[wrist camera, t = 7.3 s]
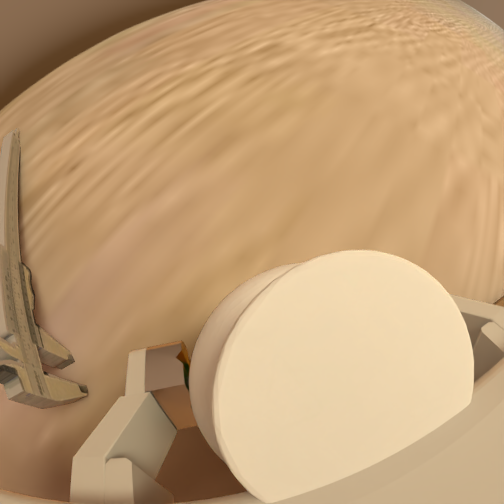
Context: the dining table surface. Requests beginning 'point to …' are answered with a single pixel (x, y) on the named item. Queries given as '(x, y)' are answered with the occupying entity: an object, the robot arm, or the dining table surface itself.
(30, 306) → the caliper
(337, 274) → the supplement bottle
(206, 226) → the dining table surface
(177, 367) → the robot arm
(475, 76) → the dining table surface
